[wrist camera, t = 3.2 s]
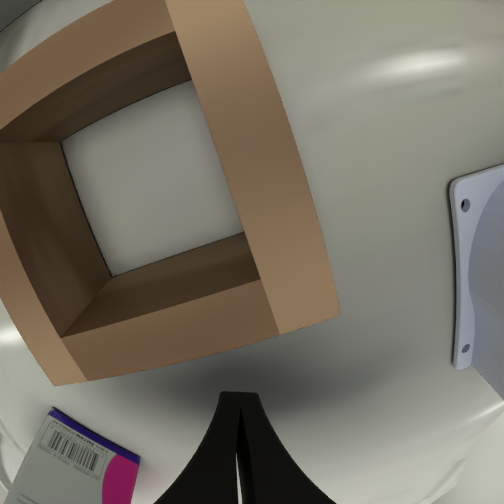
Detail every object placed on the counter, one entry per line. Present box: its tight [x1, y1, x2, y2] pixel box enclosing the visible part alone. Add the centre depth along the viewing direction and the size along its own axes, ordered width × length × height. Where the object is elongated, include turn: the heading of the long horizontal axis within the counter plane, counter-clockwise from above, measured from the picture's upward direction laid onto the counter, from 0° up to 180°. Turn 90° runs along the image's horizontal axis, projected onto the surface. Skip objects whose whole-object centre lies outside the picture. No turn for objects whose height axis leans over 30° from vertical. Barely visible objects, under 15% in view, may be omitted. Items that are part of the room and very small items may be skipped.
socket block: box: [0, 0, 341, 386], centre depth 7 cm, size 8×8×4 cm
